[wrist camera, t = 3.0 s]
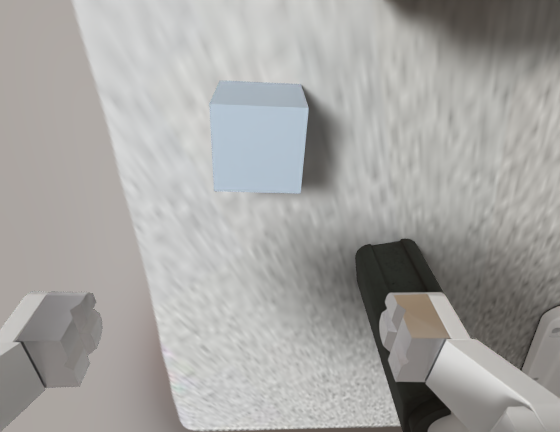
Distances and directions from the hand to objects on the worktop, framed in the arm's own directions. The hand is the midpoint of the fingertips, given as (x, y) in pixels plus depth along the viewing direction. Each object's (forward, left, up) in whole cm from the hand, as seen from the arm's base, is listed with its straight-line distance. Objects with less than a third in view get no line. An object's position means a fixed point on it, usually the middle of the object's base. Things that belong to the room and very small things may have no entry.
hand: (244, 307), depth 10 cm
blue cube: (0, 0, -16) cm, 16 cm away
